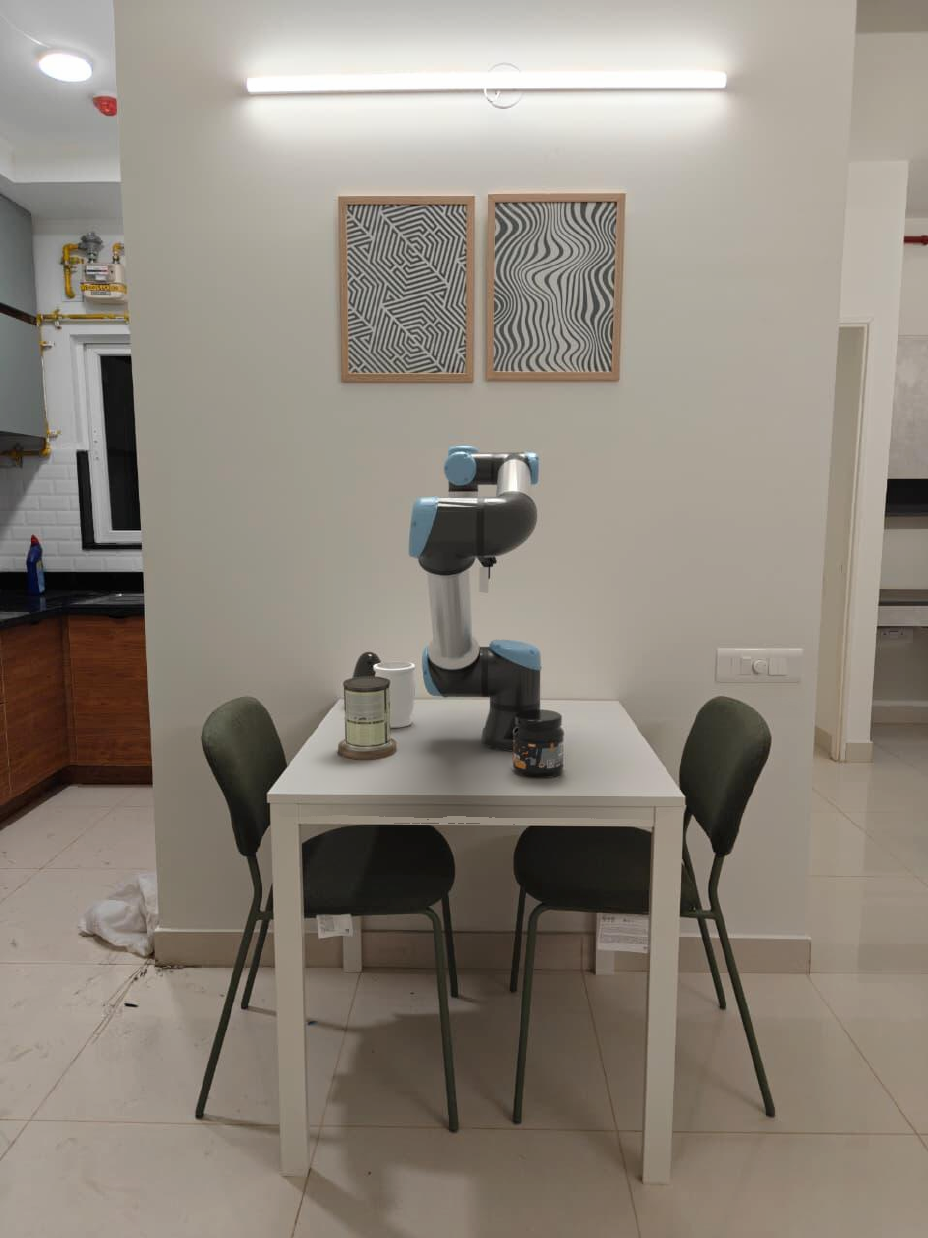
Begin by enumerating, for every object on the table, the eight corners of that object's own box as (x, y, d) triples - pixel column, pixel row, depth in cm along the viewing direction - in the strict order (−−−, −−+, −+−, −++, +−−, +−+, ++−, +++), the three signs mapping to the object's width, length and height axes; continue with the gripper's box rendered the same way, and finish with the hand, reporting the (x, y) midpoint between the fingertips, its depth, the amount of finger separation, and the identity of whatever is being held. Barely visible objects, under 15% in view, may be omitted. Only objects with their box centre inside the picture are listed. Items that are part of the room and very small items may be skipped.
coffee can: (338, 739, 185) (336, 679, 183) (380, 733, 190) (379, 674, 187) (354, 753, 176) (352, 689, 174) (398, 745, 181) (397, 683, 178)
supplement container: (507, 764, 174) (507, 709, 172) (554, 761, 176) (555, 707, 174) (519, 781, 163) (520, 723, 162) (570, 777, 165) (571, 720, 164)
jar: (414, 730, 199) (413, 669, 197) (371, 729, 199) (370, 669, 197) (417, 718, 210) (416, 660, 207) (377, 718, 210) (376, 660, 208)
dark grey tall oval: (352, 713, 215) (350, 656, 212) (349, 703, 225) (348, 648, 222) (390, 710, 217) (389, 654, 214) (386, 701, 227) (385, 647, 225)
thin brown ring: (408, 751, 182) (407, 744, 182) (358, 763, 174) (357, 756, 174) (376, 738, 192) (376, 731, 192) (327, 749, 184) (327, 741, 184)
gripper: (491, 508, 215) (490, 589, 218) (413, 509, 199) (414, 596, 202) (510, 509, 209) (509, 591, 212) (432, 510, 193) (432, 599, 196)
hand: (463, 594), depth 207 cm, fingers open, 13 cm apart
